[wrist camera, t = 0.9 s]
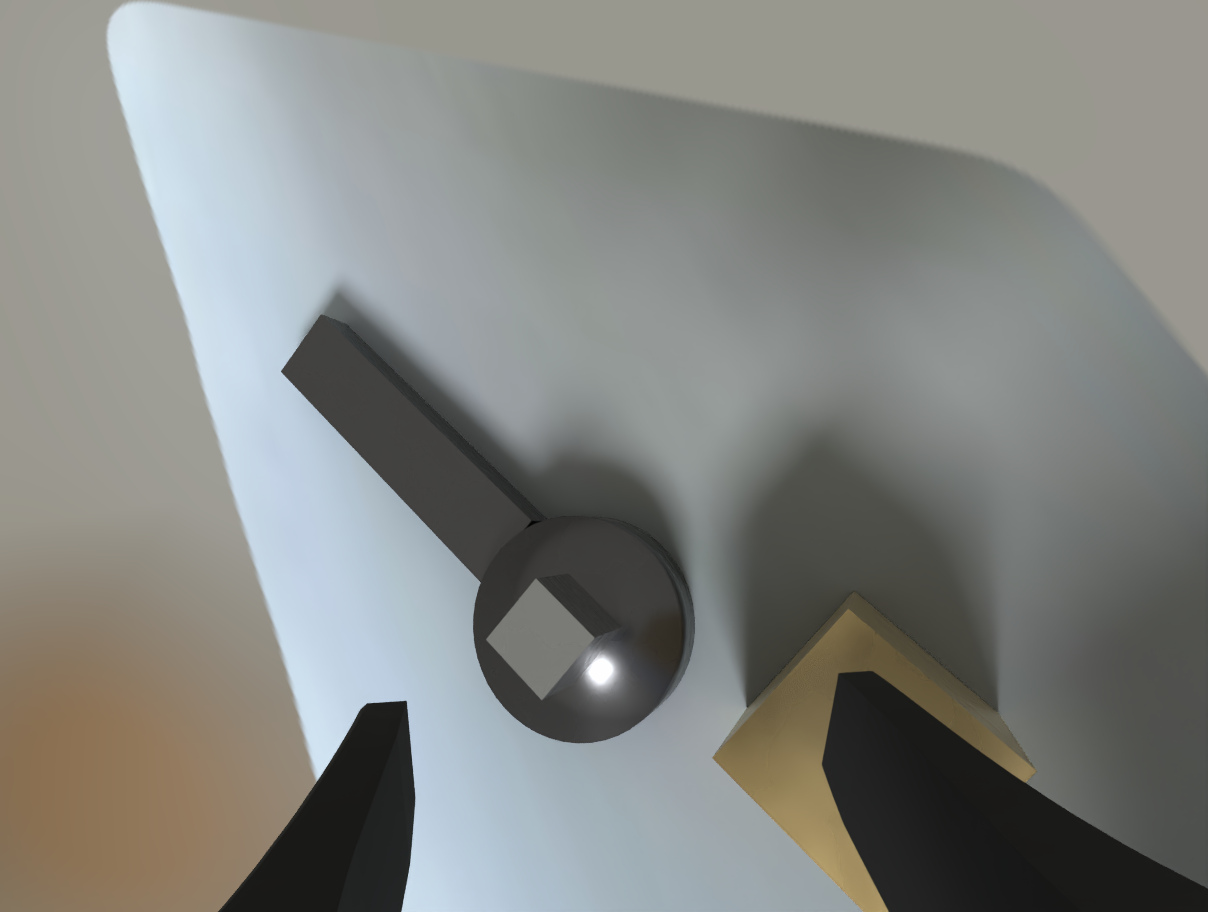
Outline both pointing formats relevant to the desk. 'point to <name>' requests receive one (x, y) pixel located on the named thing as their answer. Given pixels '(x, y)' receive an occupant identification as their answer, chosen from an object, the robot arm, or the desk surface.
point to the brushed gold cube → (800, 725)
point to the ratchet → (516, 557)
